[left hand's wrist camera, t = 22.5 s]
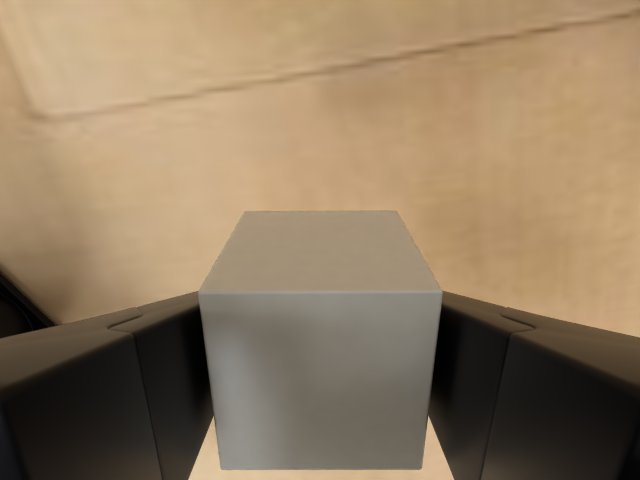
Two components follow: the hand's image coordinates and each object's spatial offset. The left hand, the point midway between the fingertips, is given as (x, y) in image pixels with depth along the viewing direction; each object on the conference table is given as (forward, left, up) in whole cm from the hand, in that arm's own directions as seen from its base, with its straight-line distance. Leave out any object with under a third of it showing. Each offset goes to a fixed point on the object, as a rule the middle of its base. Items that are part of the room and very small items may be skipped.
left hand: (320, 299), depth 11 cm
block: (0, 0, -1) cm, 1 cm away
